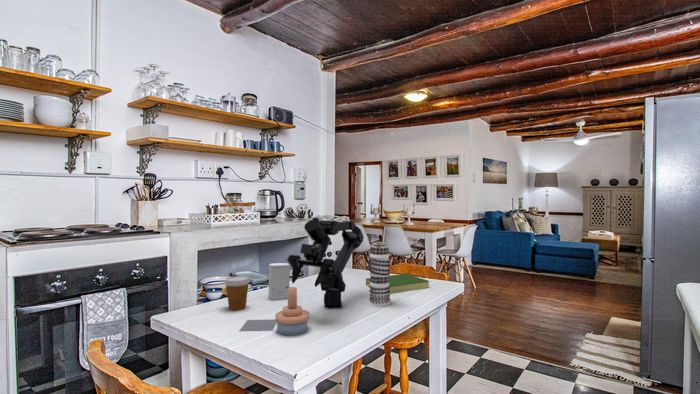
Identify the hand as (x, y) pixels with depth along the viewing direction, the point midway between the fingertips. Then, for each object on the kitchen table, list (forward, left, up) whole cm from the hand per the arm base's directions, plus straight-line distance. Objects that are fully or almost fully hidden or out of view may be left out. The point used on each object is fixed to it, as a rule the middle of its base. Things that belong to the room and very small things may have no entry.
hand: (303, 284), depth 133 cm
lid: (+3, +8, -9) cm, 13 cm away
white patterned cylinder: (-29, -22, -14) cm, 39 cm away
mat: (+15, +3, -13) cm, 20 cm away
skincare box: (+14, -32, -14) cm, 38 cm away
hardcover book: (-40, -49, -14) cm, 65 cm away
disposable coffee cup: (+28, -17, -14) cm, 36 cm away
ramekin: (+3, +8, -13) cm, 16 cm away
